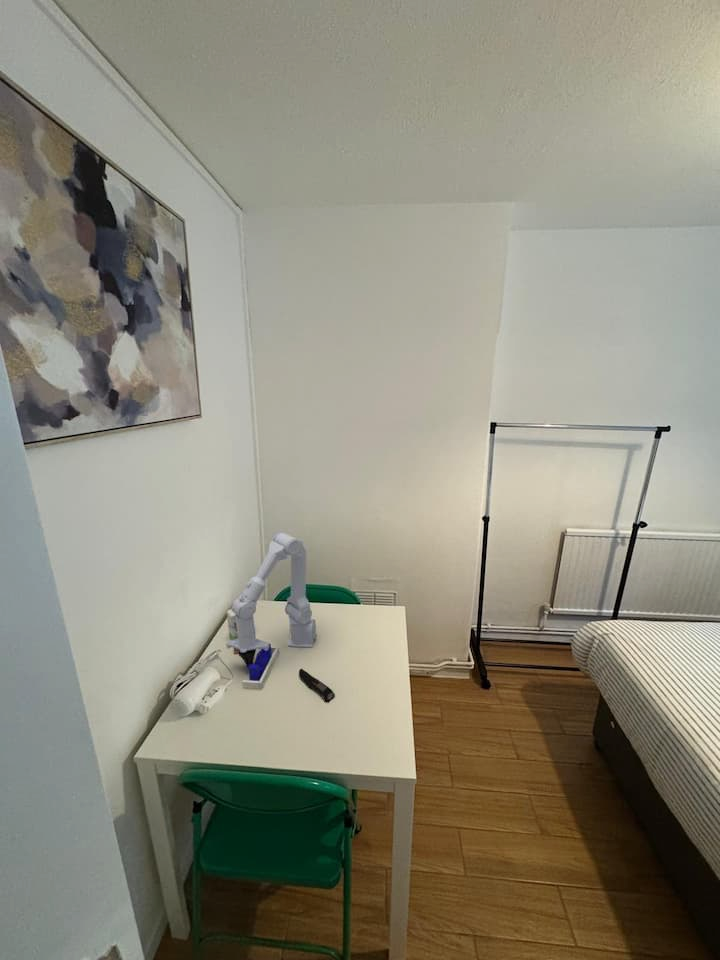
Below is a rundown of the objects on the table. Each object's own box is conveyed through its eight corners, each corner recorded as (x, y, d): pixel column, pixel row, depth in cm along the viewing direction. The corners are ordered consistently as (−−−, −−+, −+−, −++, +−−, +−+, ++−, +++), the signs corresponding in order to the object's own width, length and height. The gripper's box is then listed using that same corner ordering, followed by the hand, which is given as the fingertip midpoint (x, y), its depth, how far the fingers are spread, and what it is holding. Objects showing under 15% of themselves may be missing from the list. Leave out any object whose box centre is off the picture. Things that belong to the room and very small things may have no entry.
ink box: (250, 628, 153) (247, 602, 150) (255, 634, 149) (252, 607, 146) (229, 637, 148) (225, 610, 145) (234, 643, 144) (230, 616, 141)
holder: (279, 652, 138) (278, 646, 137) (261, 689, 121) (260, 683, 121) (262, 651, 139) (261, 645, 138) (242, 688, 122) (241, 681, 121)
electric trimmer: (305, 673, 128) (304, 665, 127) (336, 697, 117) (335, 688, 117) (296, 679, 126) (295, 671, 125) (326, 704, 115) (326, 695, 114)
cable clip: (260, 657, 136) (258, 643, 135) (272, 658, 135) (270, 643, 134) (245, 682, 125) (243, 667, 123) (258, 683, 124) (256, 668, 122)
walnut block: (247, 645, 142) (246, 636, 141) (245, 652, 138) (244, 643, 137) (236, 647, 142) (235, 637, 141) (234, 654, 138) (233, 644, 137)
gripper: (220, 638, 124) (225, 672, 127) (262, 640, 122) (266, 675, 126) (229, 625, 131) (234, 658, 134) (269, 627, 129) (273, 660, 132)
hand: (250, 665), depth 130 cm, fingers closed
